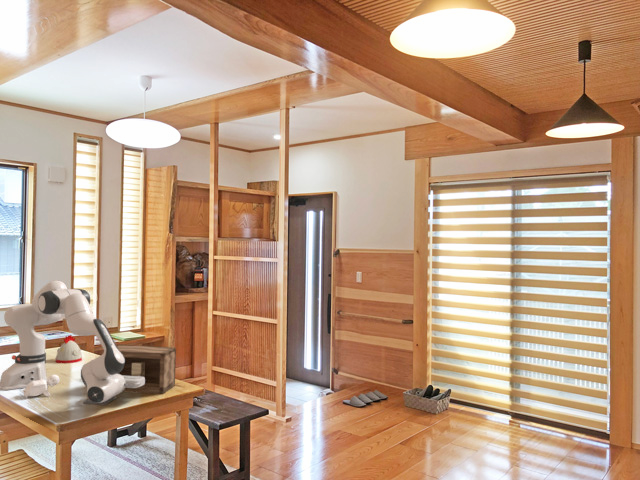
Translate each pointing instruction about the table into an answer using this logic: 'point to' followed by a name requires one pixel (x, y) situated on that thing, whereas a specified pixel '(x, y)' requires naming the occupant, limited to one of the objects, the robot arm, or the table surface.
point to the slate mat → (99, 403)
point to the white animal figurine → (40, 386)
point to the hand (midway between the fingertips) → (129, 376)
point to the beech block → (138, 368)
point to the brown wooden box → (151, 367)
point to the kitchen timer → (69, 351)
